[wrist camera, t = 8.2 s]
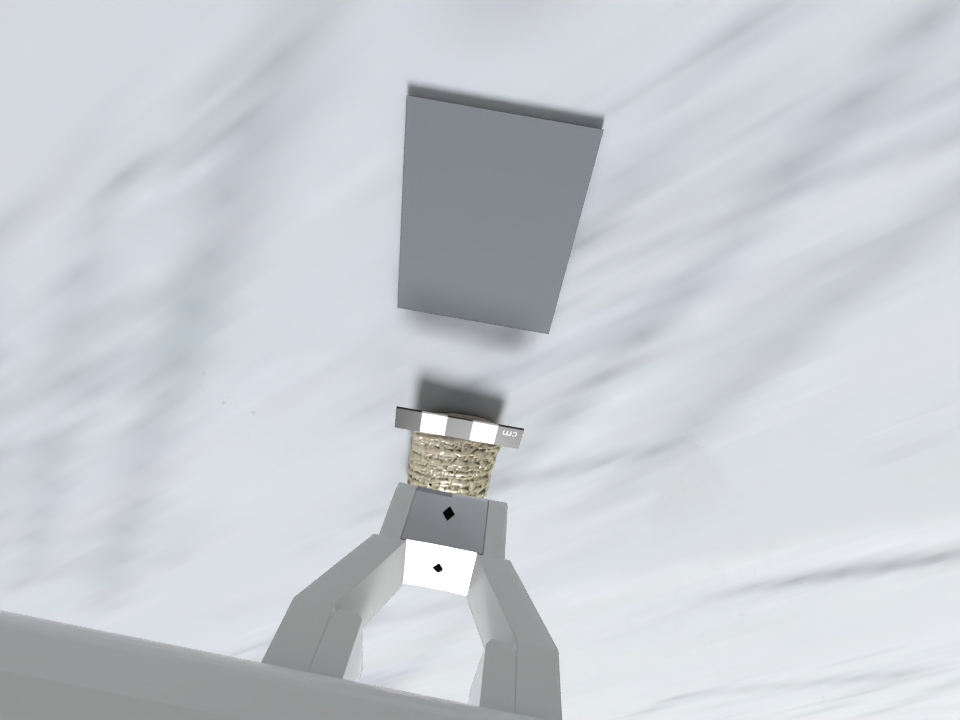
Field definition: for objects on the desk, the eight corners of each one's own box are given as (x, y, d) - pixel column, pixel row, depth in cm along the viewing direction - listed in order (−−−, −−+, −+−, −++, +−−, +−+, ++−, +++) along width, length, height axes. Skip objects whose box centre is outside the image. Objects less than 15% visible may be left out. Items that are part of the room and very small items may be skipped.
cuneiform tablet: (523, 430, 22) (484, 552, 29) (521, 383, 26) (487, 500, 32) (396, 407, 22) (386, 536, 28) (413, 363, 26) (400, 485, 32)
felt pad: (602, 129, 18) (603, 129, 18) (548, 330, 24) (548, 334, 23) (408, 95, 18) (406, 95, 18) (399, 304, 24) (397, 307, 23)
